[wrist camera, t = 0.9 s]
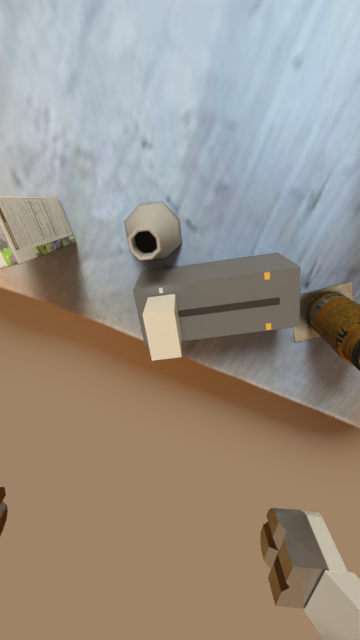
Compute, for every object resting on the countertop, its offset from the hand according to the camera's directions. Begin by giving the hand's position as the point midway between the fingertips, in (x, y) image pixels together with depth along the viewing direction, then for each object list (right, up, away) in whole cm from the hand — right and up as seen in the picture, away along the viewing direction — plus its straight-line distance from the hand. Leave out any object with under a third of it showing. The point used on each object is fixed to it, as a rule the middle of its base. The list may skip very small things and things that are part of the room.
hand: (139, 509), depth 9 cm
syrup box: (-15, +18, +28) cm, 37 cm away
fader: (0, +6, +24) cm, 25 cm away
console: (+6, +10, +31) cm, 33 cm away
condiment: (+21, +7, +33) cm, 40 cm away
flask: (-2, +17, +28) cm, 33 cm away
